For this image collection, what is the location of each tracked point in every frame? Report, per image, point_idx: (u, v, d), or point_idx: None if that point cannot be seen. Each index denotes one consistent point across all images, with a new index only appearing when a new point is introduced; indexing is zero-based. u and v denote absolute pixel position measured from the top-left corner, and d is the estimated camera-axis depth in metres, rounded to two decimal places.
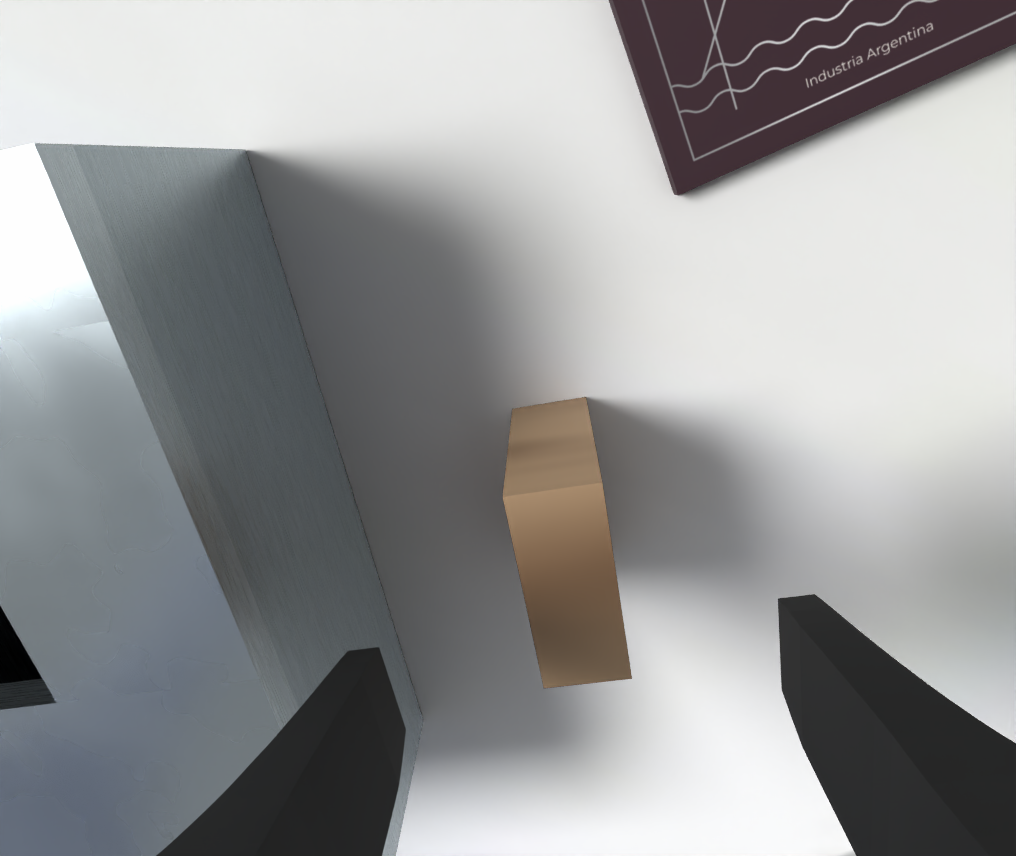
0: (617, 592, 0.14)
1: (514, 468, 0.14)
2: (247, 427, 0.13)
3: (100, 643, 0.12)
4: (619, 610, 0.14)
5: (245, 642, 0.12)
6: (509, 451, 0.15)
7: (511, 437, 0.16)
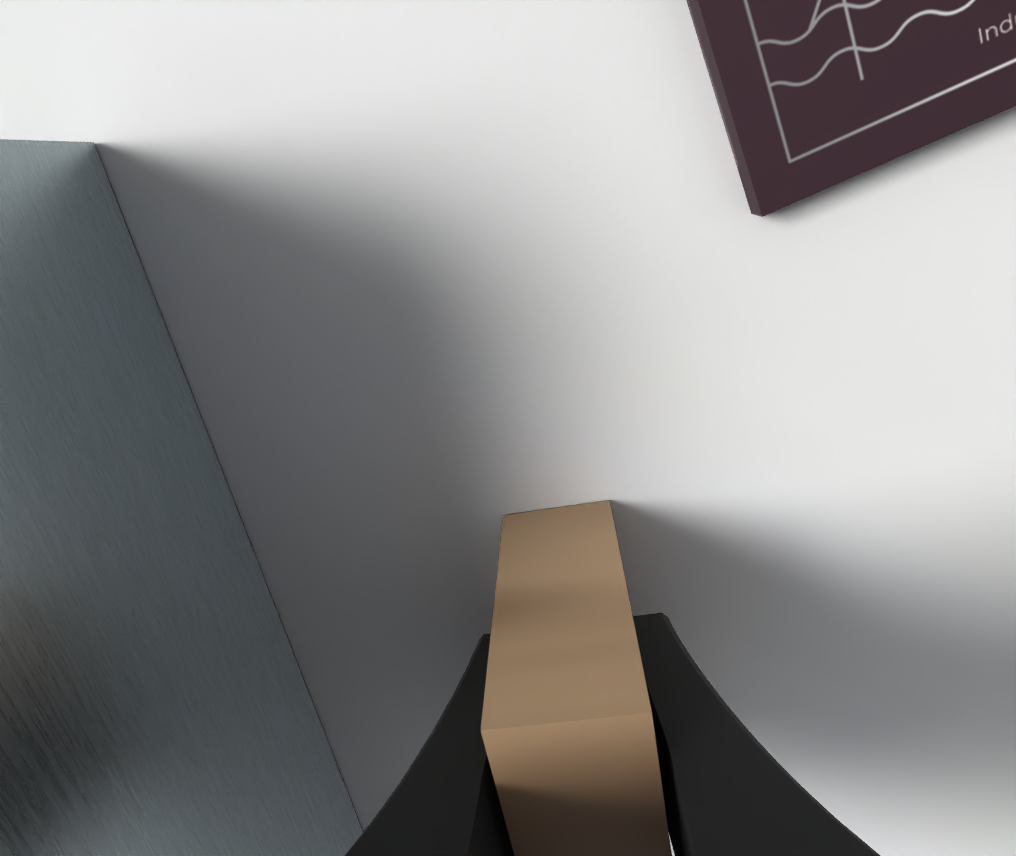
0: None
1: (503, 654, 0.09)
2: (60, 600, 0.08)
3: None
4: None
5: None
6: (496, 611, 0.10)
7: (500, 578, 0.10)
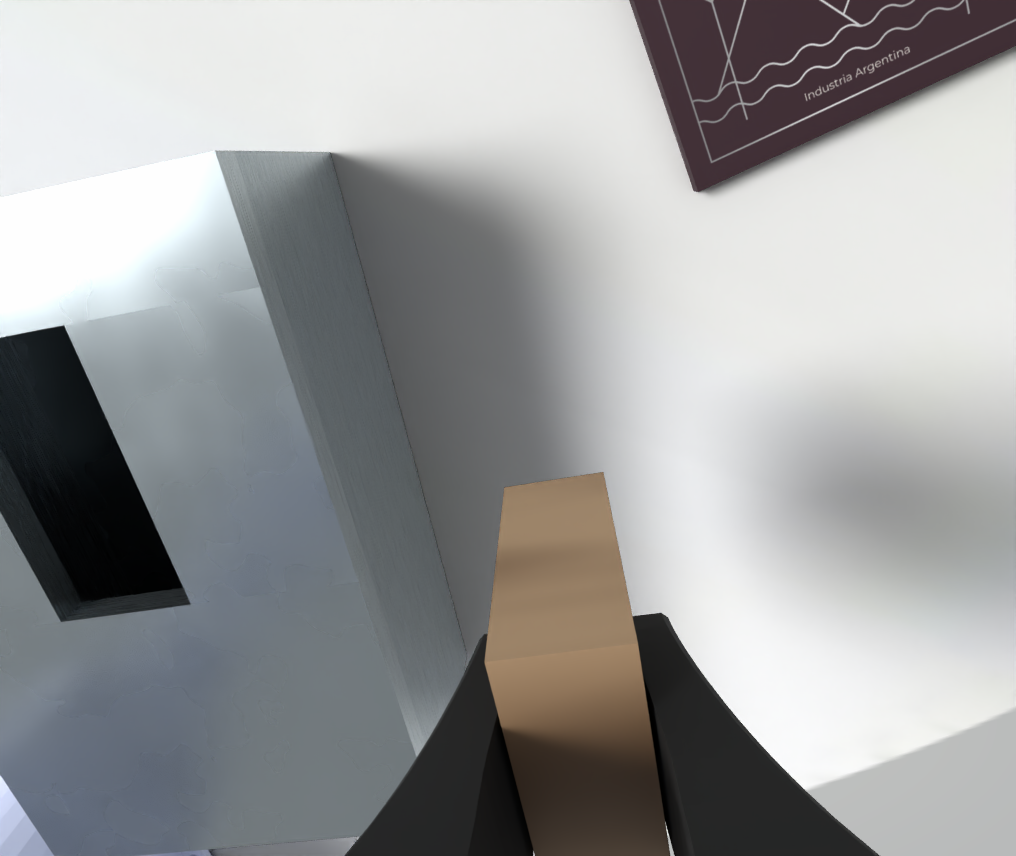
0: (658, 791, 0.09)
1: (504, 601, 0.10)
2: (341, 381, 0.16)
3: (231, 552, 0.15)
4: (660, 814, 0.09)
5: (348, 551, 0.15)
6: (497, 567, 0.11)
7: (501, 540, 0.11)
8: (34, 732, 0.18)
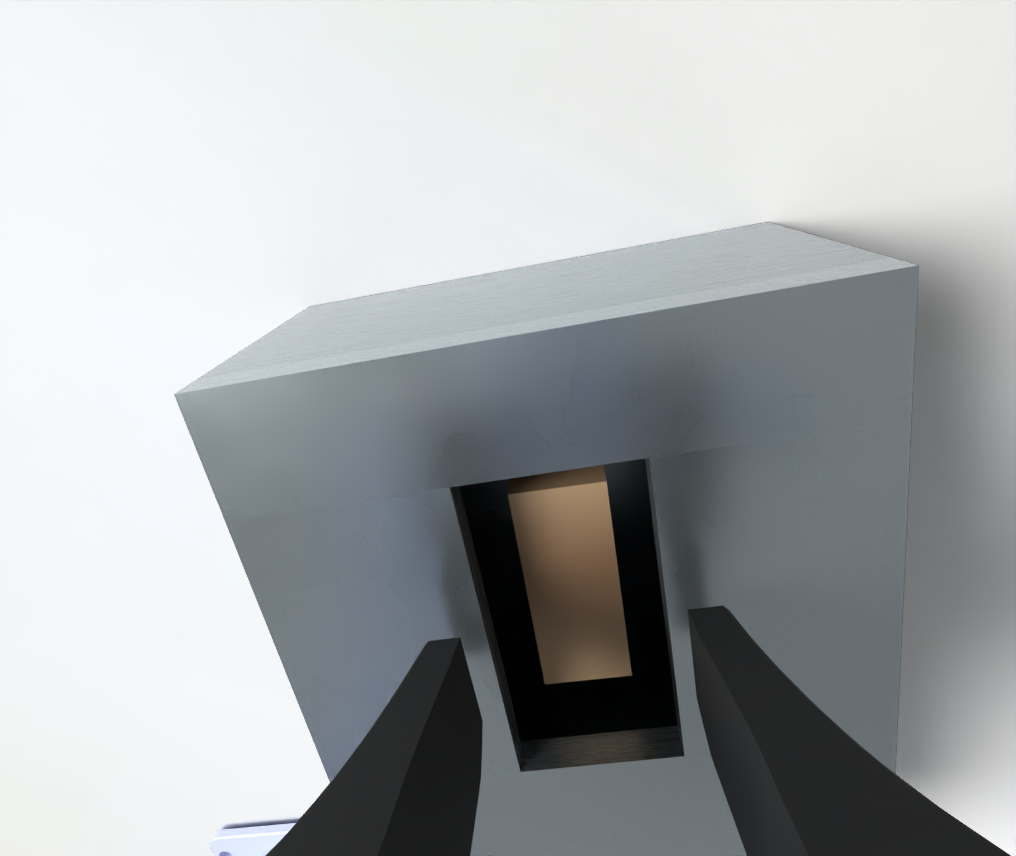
0: (619, 590, 0.14)
1: None
2: None
3: None
4: (621, 608, 0.14)
5: None
6: None
7: None
8: None
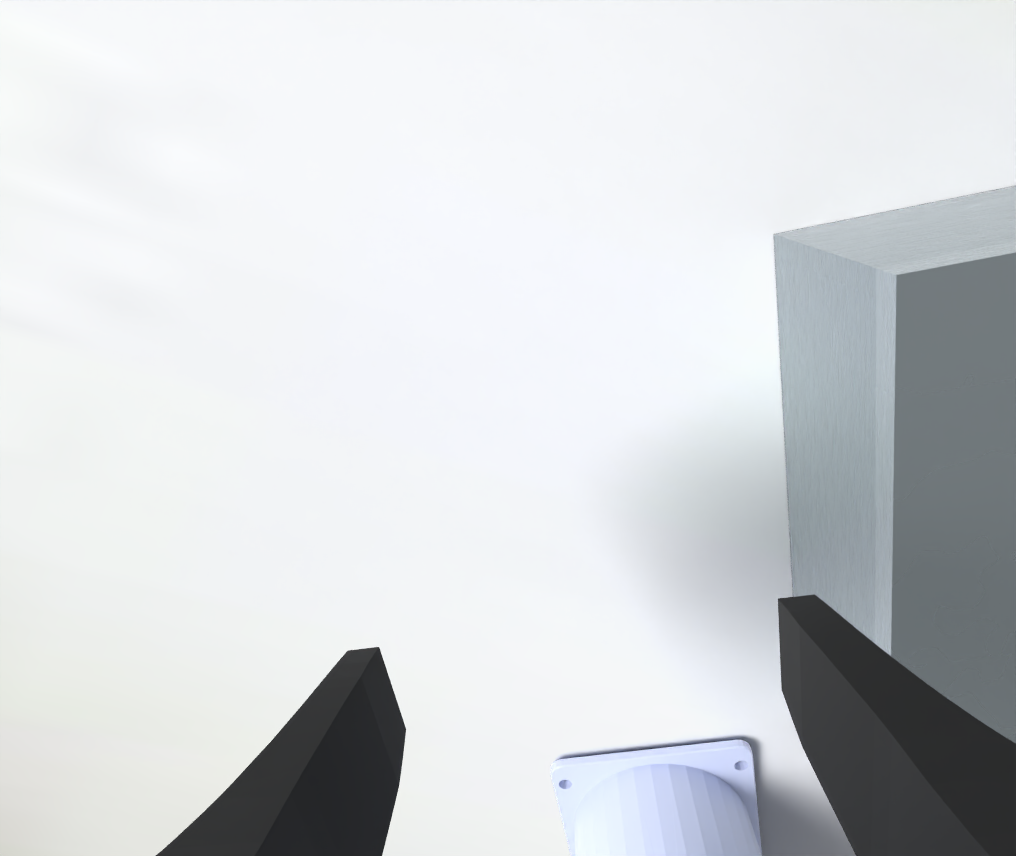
0: None
1: None
2: None
3: None
4: None
5: None
6: None
7: None
8: None
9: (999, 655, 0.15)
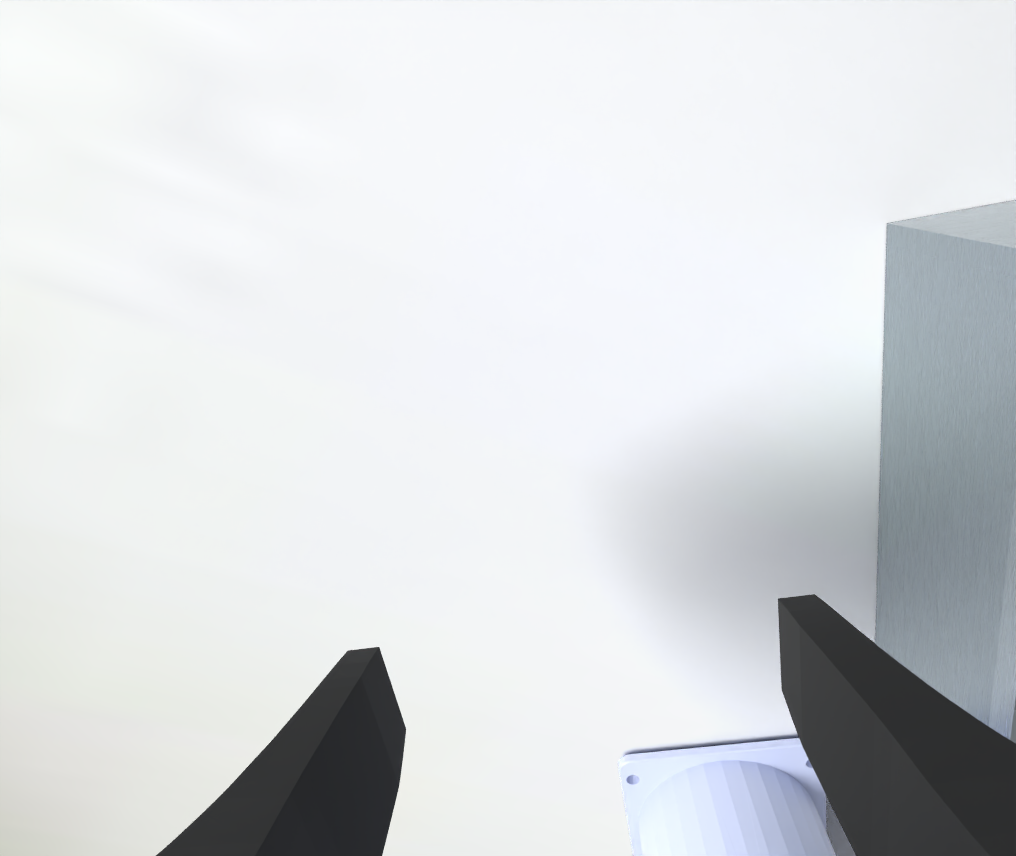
0: None
1: None
2: None
3: None
4: None
5: None
6: None
7: None
8: None
9: None
